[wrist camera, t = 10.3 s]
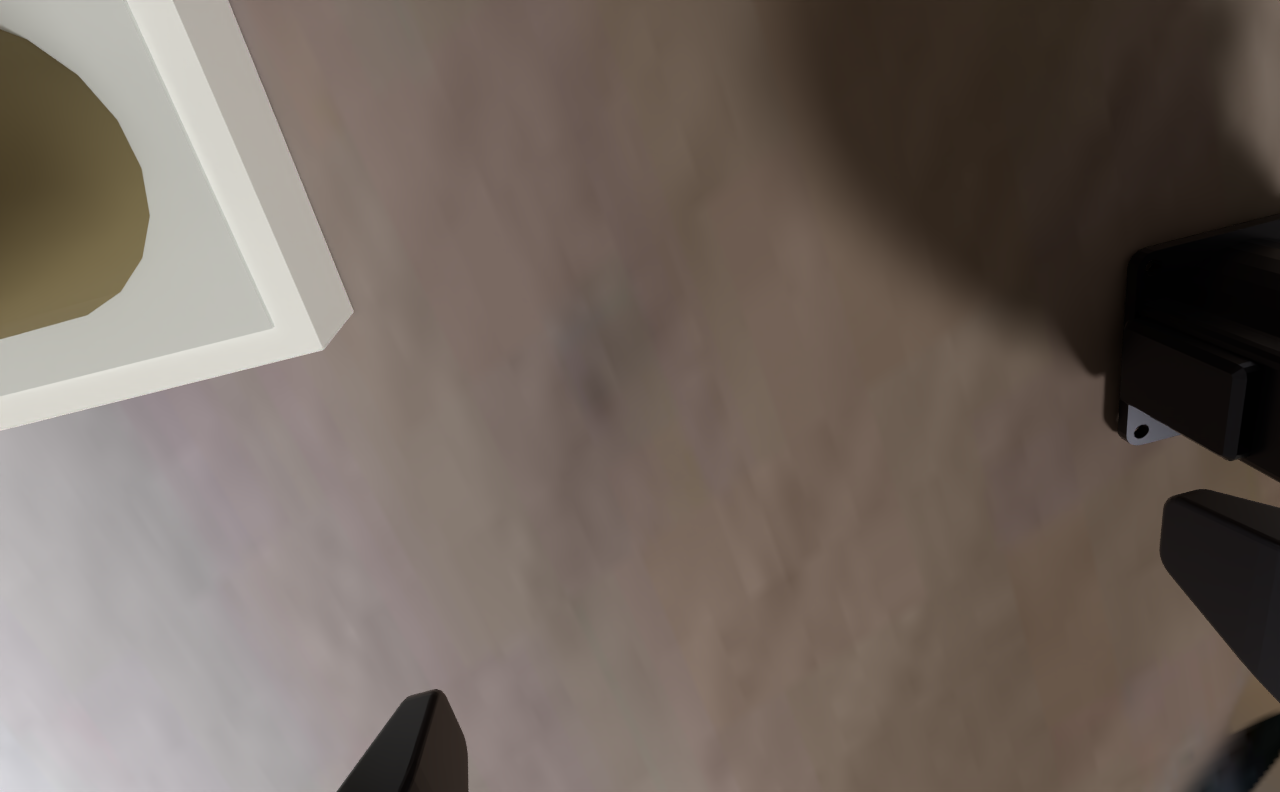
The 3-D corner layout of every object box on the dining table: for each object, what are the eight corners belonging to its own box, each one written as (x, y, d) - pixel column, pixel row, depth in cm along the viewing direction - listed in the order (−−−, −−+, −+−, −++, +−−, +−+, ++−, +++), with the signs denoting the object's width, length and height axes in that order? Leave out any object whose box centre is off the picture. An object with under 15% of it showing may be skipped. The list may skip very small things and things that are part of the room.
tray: (176, -129, 16) (94, -174, 13) (353, 311, 20) (322, 352, 17) (-294, -18, 15) (-484, -38, 13) (-15, 403, 20) (-111, 460, 17)
